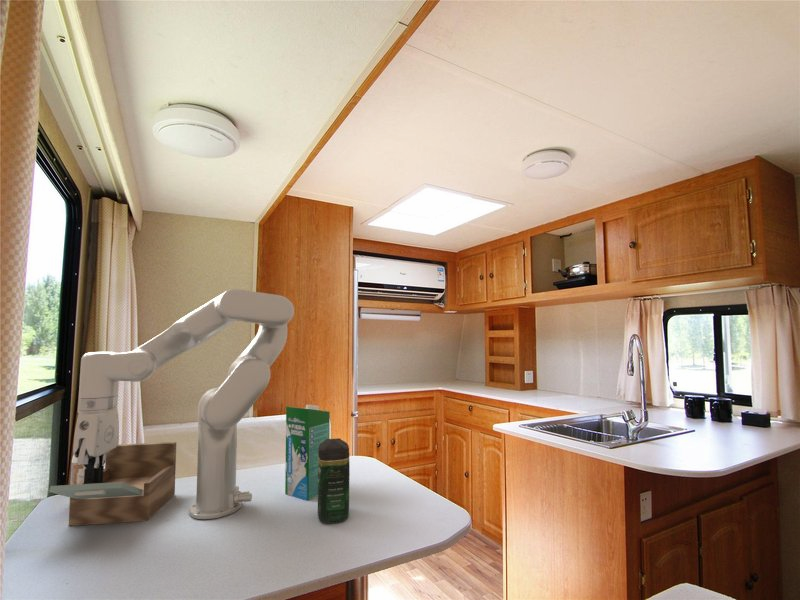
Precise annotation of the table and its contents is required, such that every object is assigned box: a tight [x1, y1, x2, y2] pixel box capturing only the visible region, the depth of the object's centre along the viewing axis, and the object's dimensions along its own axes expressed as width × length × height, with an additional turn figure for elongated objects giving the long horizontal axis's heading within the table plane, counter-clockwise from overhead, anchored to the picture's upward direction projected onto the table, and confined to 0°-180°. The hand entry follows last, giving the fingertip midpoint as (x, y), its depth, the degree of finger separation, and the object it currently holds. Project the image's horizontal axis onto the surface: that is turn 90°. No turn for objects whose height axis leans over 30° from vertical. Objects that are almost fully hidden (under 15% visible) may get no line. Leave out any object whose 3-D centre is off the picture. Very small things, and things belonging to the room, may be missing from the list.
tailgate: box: [48, 482, 143, 499], centre depth 95 cm, size 15×2×11 cm
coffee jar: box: [317, 438, 351, 524], centre depth 103 cm, size 10×8×19 cm
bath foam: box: [69, 454, 85, 504], centre depth 113 cm, size 7×7×20 cm
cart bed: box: [68, 441, 177, 526], centre depth 108 cm, size 18×16×15 cm
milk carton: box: [284, 404, 331, 501], centre depth 119 cm, size 9×9×25 cm
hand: (93, 484), depth 94 cm, fingers closed
